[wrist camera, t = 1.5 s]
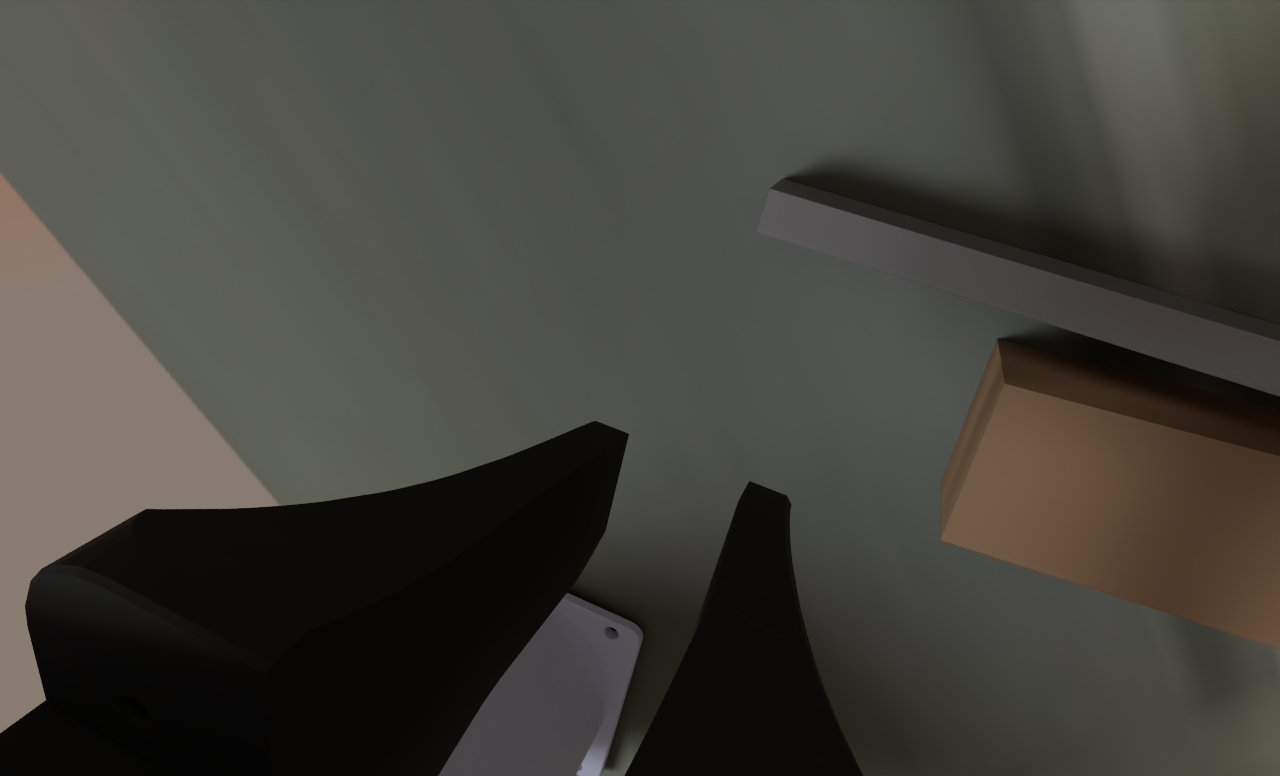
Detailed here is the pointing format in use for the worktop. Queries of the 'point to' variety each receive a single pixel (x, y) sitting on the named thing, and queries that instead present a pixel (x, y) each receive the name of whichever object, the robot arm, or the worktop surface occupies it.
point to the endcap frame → (1029, 284)
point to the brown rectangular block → (1122, 487)
